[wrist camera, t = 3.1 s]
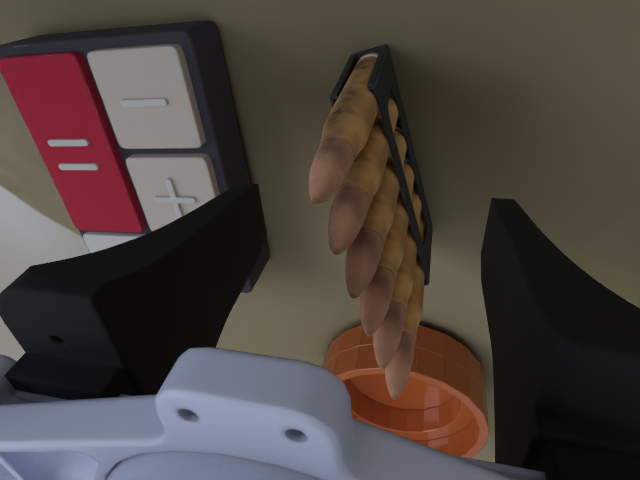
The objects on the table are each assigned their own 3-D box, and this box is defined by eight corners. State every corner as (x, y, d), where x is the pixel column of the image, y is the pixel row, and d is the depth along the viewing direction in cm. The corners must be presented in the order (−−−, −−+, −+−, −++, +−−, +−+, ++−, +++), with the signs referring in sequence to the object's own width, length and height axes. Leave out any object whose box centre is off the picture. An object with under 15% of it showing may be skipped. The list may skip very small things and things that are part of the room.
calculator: (180, 32, 18) (248, 302, 27) (222, 17, 22) (271, 260, 30) (-24, 49, 21) (95, 289, 29) (42, 33, 25) (132, 252, 33)
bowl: (496, 327, 29) (502, 385, 26) (472, 426, 37) (474, 481, 33) (321, 307, 32) (305, 356, 29) (330, 402, 39) (319, 451, 36)
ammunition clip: (433, 229, 26) (424, 413, 17) (401, 234, 27) (376, 413, 17) (387, 43, 20) (336, 163, 11) (349, 54, 21) (271, 177, 12)
